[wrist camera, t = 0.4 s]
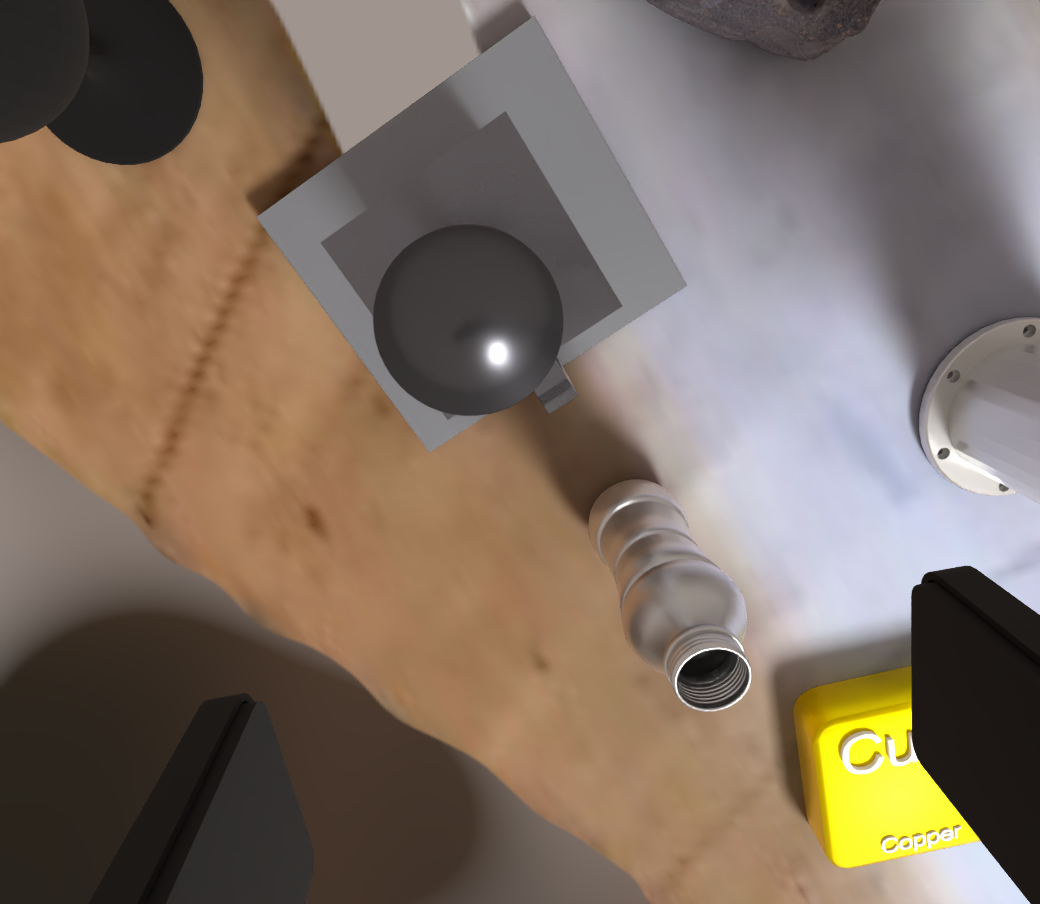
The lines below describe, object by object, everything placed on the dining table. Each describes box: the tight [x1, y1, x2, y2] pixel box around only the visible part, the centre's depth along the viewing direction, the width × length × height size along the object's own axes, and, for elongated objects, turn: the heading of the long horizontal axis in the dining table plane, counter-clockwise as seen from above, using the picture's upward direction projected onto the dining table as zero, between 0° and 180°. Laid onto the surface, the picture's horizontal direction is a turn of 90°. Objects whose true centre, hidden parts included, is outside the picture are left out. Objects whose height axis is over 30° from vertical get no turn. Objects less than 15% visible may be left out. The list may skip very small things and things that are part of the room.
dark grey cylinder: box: [373, 222, 564, 416], centre depth 26 cm, size 4×4×20 cm
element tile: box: [793, 666, 981, 868], centre depth 59 cm, size 15×15×5 cm
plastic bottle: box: [589, 479, 752, 712], centre depth 44 cm, size 6×7×20 cm
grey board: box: [256, 16, 687, 452], centre depth 47 cm, size 20×18×1 cm
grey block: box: [320, 111, 622, 420], centre depth 38 cm, size 9×12×17 cm
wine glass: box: [0, 0, 203, 165], centre depth 34 cm, size 10×10×20 cm
